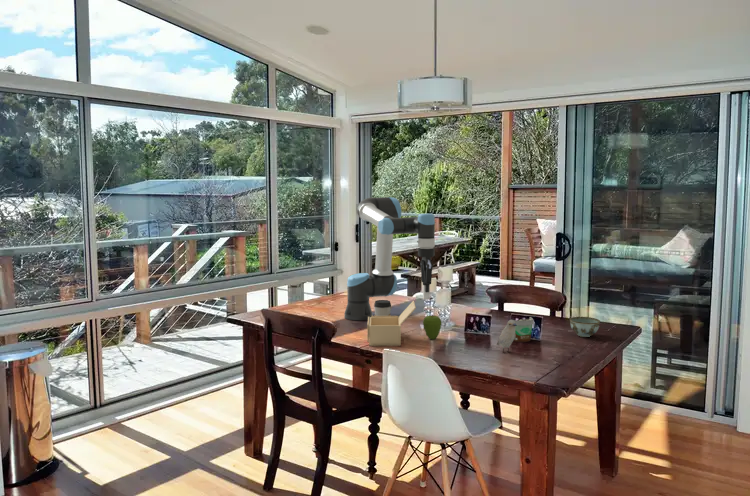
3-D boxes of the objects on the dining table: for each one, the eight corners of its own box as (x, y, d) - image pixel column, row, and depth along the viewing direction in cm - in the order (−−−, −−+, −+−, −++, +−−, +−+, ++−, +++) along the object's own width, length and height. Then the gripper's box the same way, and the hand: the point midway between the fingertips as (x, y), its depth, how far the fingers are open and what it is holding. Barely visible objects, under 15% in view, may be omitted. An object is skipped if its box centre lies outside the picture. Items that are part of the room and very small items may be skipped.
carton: (368, 335, 296) (368, 315, 294) (399, 335, 295) (399, 315, 294) (367, 346, 276) (367, 325, 275) (400, 346, 276) (400, 325, 275)
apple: (419, 337, 291) (419, 313, 289) (435, 335, 294) (435, 312, 293) (428, 342, 283) (428, 317, 282) (444, 340, 286) (445, 315, 285)
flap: (399, 316, 292) (413, 300, 292) (400, 316, 293) (414, 301, 292) (400, 324, 277) (415, 307, 276) (401, 324, 277) (416, 308, 276)
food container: (518, 344, 279) (518, 322, 278) (509, 340, 285) (509, 319, 284) (539, 340, 285) (539, 319, 284) (530, 337, 290) (530, 316, 289)
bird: (511, 357, 258) (512, 322, 256) (492, 349, 270) (493, 315, 269) (521, 356, 260) (522, 321, 258) (502, 348, 272) (503, 314, 271)
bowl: (568, 338, 289) (568, 321, 288) (569, 331, 301) (570, 315, 300) (599, 341, 284) (600, 323, 283) (599, 334, 296) (600, 317, 296)
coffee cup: (389, 334, 298) (389, 303, 296) (372, 333, 299) (372, 302, 298) (392, 329, 306) (392, 300, 304) (376, 329, 308) (375, 299, 306)
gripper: (414, 246, 288) (414, 296, 290) (422, 249, 275) (422, 301, 278) (430, 246, 290) (430, 296, 292) (438, 248, 277) (438, 301, 279)
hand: (426, 298), depth 285 cm, fingers closed
